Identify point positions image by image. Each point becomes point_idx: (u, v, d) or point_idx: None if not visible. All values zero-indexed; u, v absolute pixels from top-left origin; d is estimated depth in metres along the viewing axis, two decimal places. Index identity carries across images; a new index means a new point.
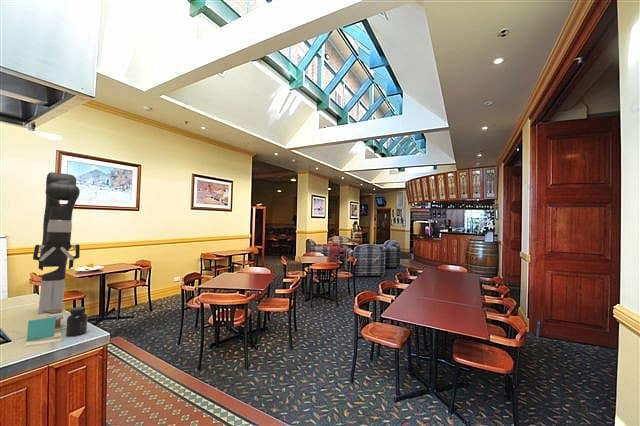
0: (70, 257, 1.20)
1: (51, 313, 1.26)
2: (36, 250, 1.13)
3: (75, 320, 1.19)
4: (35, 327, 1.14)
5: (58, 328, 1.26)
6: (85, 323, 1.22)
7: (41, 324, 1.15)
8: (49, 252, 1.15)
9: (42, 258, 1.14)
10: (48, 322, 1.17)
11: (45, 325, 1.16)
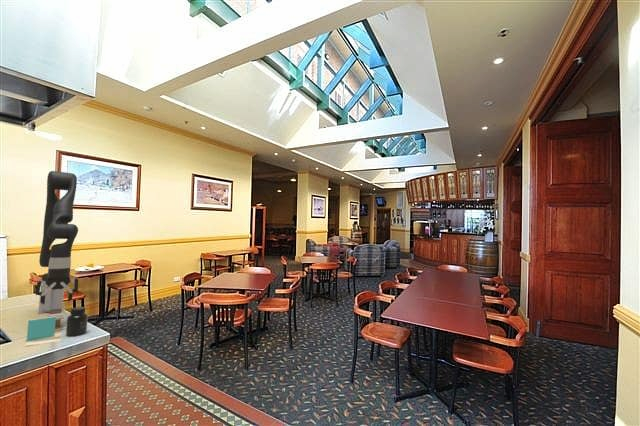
0: (69, 290, 1.31)
1: (51, 313, 1.26)
2: (38, 286, 1.24)
3: (75, 320, 1.19)
4: (35, 327, 1.14)
5: (58, 328, 1.26)
6: (85, 323, 1.22)
7: (41, 324, 1.15)
8: (50, 287, 1.26)
9: (44, 293, 1.25)
10: (48, 322, 1.17)
11: (45, 325, 1.16)
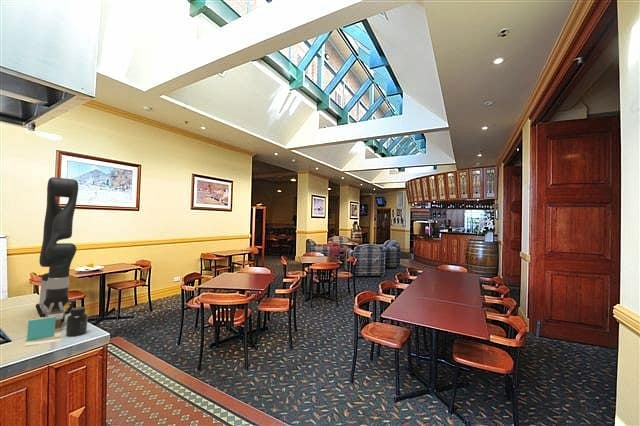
0: None
1: (51, 313, 1.26)
2: (38, 309, 1.24)
3: (75, 320, 1.19)
4: (35, 327, 1.14)
5: (58, 328, 1.26)
6: (85, 323, 1.22)
7: (41, 324, 1.15)
8: (50, 308, 1.26)
9: None
10: (48, 322, 1.17)
11: (45, 325, 1.16)
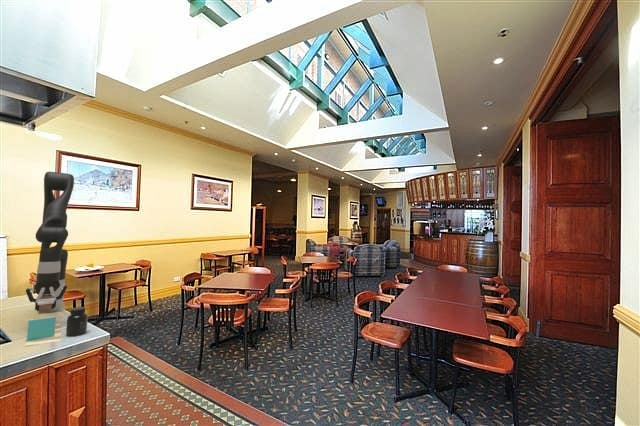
0: None
1: (42, 298, 1.23)
2: (29, 293, 1.21)
3: (75, 320, 1.19)
4: (35, 327, 1.14)
5: (58, 328, 1.26)
6: (85, 323, 1.22)
7: (41, 324, 1.15)
8: (41, 293, 1.24)
9: None
10: (48, 322, 1.17)
11: (45, 325, 1.16)
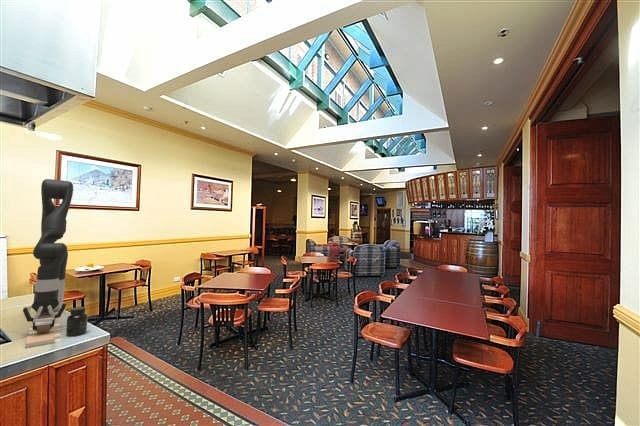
0: None
1: (40, 317, 1.19)
2: (26, 313, 1.17)
3: (75, 320, 1.19)
4: None
5: (58, 328, 1.26)
6: (85, 323, 1.22)
7: None
8: (39, 312, 1.19)
9: None
10: None
11: None
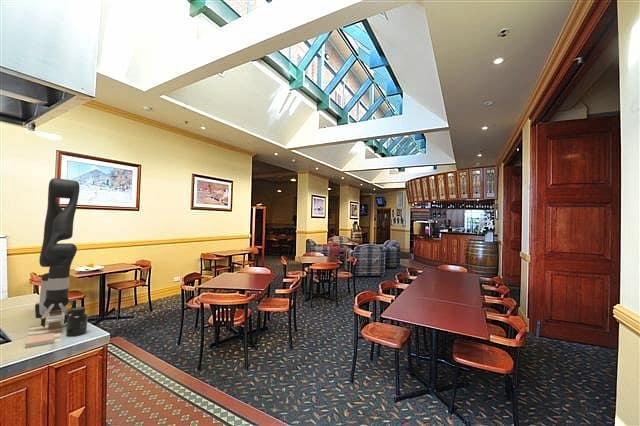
0: (65, 313, 1.28)
1: (51, 315, 1.24)
2: (37, 309, 1.22)
3: (75, 320, 1.19)
4: None
5: None
6: (85, 323, 1.22)
7: None
8: (49, 309, 1.24)
9: (44, 316, 1.23)
10: None
11: None
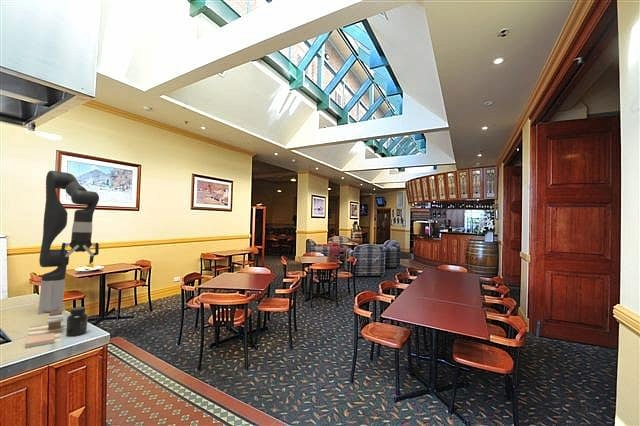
0: (91, 254, 1.40)
1: (51, 315, 1.24)
2: (63, 247, 1.33)
3: (75, 320, 1.19)
4: None
5: None
6: (85, 323, 1.22)
7: None
8: (73, 249, 1.35)
9: (68, 254, 1.34)
10: None
11: None
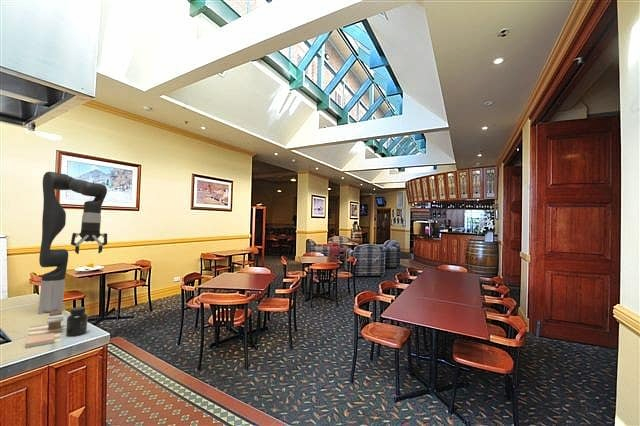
0: (100, 243, 1.45)
1: (51, 315, 1.24)
2: (73, 237, 1.38)
3: (75, 320, 1.19)
4: None
5: None
6: (85, 323, 1.22)
7: None
8: (83, 239, 1.40)
9: (78, 244, 1.39)
10: None
11: None
